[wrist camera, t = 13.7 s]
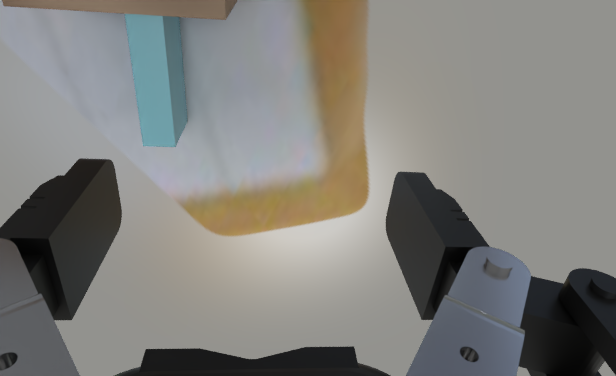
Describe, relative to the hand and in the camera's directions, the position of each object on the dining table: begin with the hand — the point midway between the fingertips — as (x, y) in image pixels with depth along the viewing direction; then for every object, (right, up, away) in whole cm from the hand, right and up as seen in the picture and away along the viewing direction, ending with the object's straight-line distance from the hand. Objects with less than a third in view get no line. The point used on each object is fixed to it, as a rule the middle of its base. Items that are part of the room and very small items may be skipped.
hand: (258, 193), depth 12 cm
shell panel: (-11, +13, +23) cm, 28 cm away
